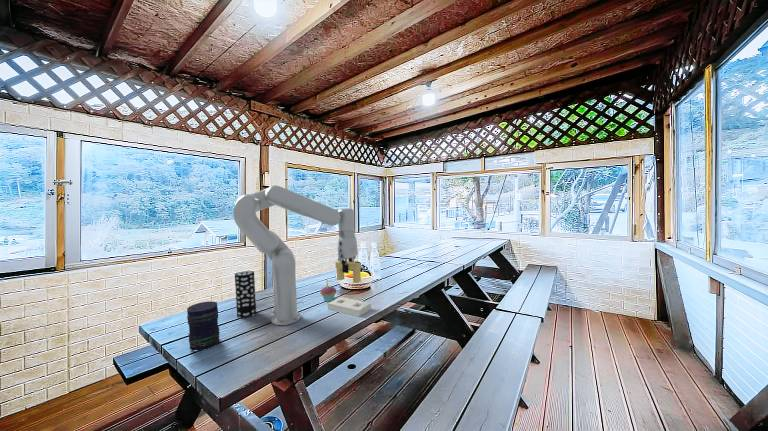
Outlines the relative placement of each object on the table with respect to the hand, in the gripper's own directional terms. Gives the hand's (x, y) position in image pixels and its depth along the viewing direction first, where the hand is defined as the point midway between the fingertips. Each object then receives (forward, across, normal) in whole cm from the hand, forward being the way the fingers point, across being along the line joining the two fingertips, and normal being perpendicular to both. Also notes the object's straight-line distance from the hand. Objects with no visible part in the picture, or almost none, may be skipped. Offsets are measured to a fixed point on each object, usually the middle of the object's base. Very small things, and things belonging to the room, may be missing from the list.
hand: (348, 271), depth 138 cm
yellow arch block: (+5, 0, 0) cm, 5 cm away
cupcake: (+19, +5, +18) cm, 27 cm away
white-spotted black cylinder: (+19, -28, +40) cm, 52 cm away
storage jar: (+19, -53, +28) cm, 63 cm away
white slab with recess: (+19, 0, 0) cm, 19 cm away
